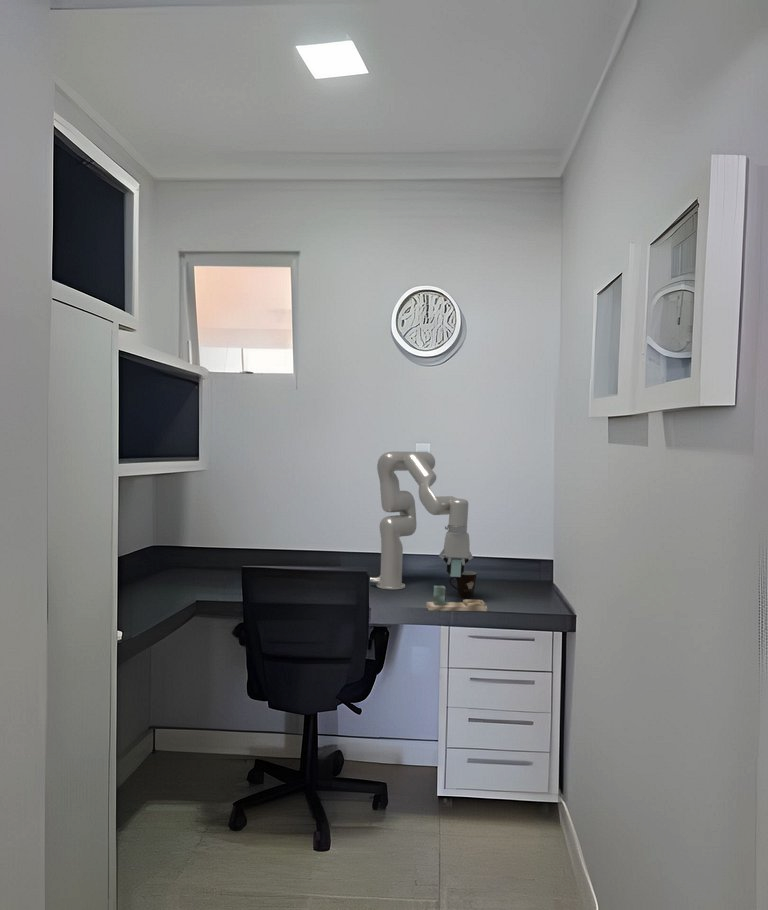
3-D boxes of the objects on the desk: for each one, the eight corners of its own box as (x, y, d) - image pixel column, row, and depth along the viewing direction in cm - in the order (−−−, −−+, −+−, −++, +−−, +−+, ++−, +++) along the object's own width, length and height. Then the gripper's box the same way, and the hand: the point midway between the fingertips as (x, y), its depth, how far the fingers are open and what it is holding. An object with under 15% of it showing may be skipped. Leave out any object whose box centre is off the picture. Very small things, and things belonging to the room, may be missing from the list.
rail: (428, 610, 313) (429, 588, 313) (426, 605, 321) (427, 584, 321) (487, 611, 315) (487, 589, 314) (483, 606, 323) (484, 585, 322)
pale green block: (460, 577, 325) (461, 559, 325) (450, 576, 325) (451, 559, 325) (458, 574, 330) (459, 557, 330) (449, 574, 330) (450, 557, 329)
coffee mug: (474, 594, 346) (475, 571, 345) (476, 598, 337) (477, 575, 337) (447, 593, 346) (448, 570, 345) (449, 598, 337) (449, 574, 337)
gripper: (438, 530, 322) (435, 575, 323) (479, 531, 323) (476, 576, 324) (435, 527, 329) (433, 571, 330) (476, 528, 330) (473, 572, 332)
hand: (455, 573), depth 327 cm, fingers closed on pale green block, 4 cm apart
